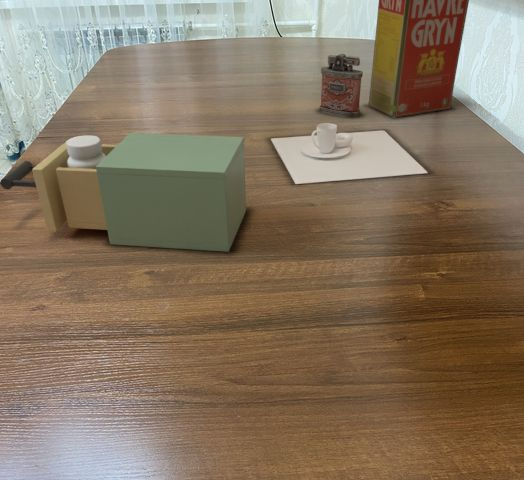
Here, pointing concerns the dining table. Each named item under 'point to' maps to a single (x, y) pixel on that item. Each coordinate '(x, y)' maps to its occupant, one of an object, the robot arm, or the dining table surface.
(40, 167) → the drawer
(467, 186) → the dining table surface
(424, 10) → the food packaging
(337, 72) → the lighter
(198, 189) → the cabinet
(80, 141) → the supplement bottle
